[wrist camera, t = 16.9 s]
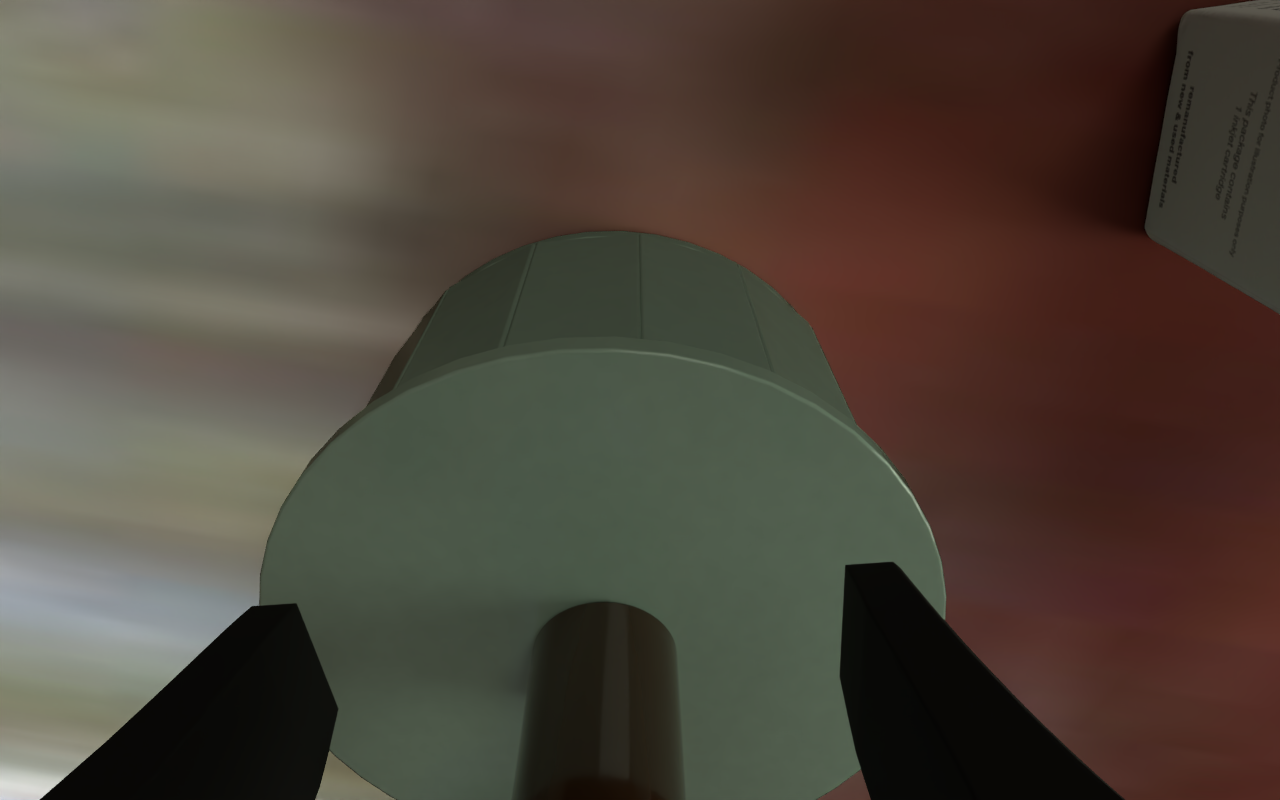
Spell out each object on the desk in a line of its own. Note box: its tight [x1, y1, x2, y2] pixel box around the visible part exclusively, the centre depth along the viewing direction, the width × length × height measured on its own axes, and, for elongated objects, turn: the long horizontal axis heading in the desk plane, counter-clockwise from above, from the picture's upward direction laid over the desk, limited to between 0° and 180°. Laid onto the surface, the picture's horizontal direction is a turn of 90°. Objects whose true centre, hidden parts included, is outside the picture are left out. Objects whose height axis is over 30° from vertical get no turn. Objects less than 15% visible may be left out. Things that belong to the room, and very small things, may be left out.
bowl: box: [366, 231, 857, 425], centre depth 18 cm, size 11×11×6 cm
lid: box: [259, 336, 946, 800], centre depth 13 cm, size 12×12×6 cm
